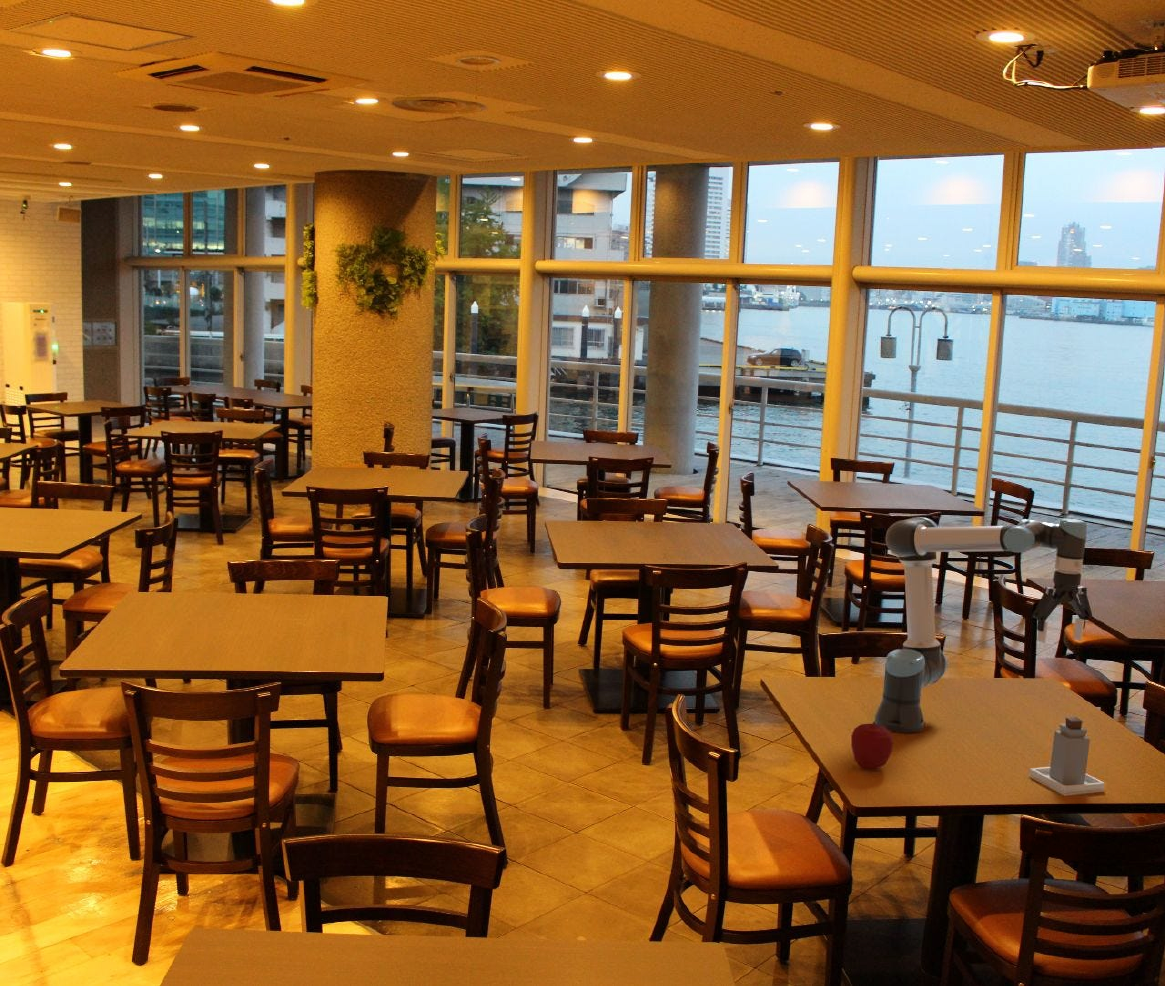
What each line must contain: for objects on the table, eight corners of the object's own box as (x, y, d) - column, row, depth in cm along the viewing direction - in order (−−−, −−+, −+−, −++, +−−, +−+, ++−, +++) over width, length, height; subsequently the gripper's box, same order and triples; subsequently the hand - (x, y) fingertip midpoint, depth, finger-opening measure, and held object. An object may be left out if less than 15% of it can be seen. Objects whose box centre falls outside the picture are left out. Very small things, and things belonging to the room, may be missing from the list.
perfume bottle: (1049, 776, 352) (1056, 715, 349) (1071, 776, 353) (1078, 715, 350) (1061, 785, 345) (1069, 723, 342) (1084, 785, 346) (1091, 723, 343)
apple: (882, 779, 344) (887, 733, 342) (842, 769, 350) (846, 723, 348) (896, 767, 354) (900, 722, 352) (857, 757, 360) (861, 713, 358)
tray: (1064, 795, 340) (1065, 787, 340) (1029, 776, 353) (1030, 768, 353) (1104, 791, 345) (1105, 783, 345) (1068, 772, 358) (1069, 764, 358)
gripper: (1043, 575, 358) (1034, 645, 362) (1110, 573, 367) (1101, 642, 370) (1025, 569, 365) (1017, 638, 368) (1091, 567, 374) (1083, 635, 377)
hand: (1059, 640), depth 369 cm, fingers open, 13 cm apart
